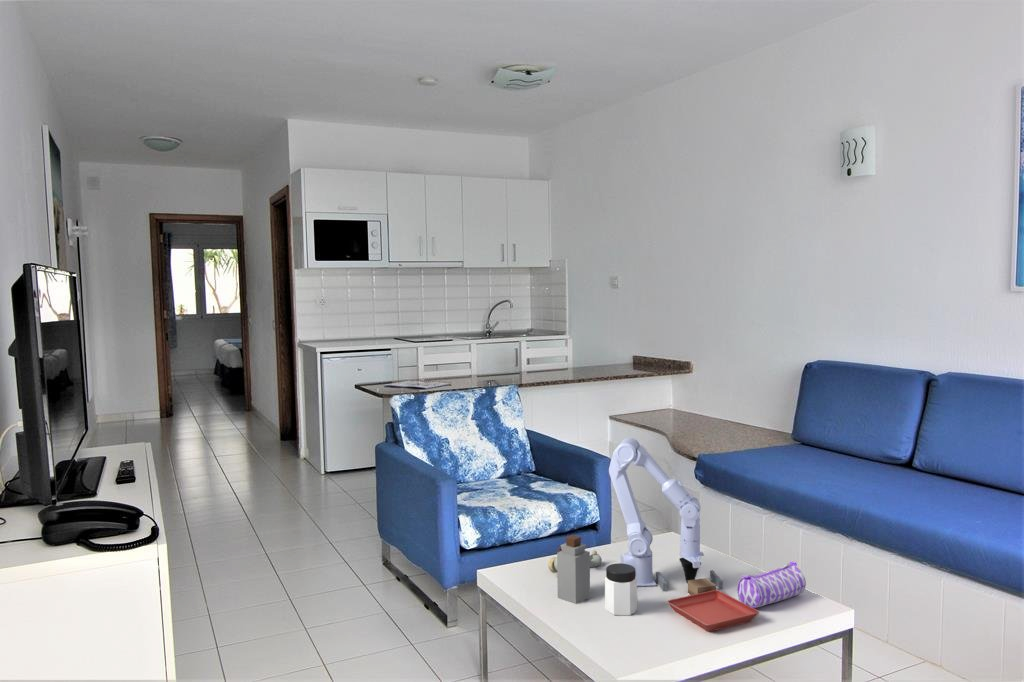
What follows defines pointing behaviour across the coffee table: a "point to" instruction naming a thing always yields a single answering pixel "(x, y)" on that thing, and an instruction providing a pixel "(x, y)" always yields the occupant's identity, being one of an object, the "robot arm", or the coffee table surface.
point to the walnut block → (700, 586)
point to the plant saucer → (713, 610)
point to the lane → (713, 577)
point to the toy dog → (594, 561)
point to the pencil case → (771, 586)
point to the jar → (620, 589)
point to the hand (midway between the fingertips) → (690, 582)
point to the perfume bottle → (573, 571)
